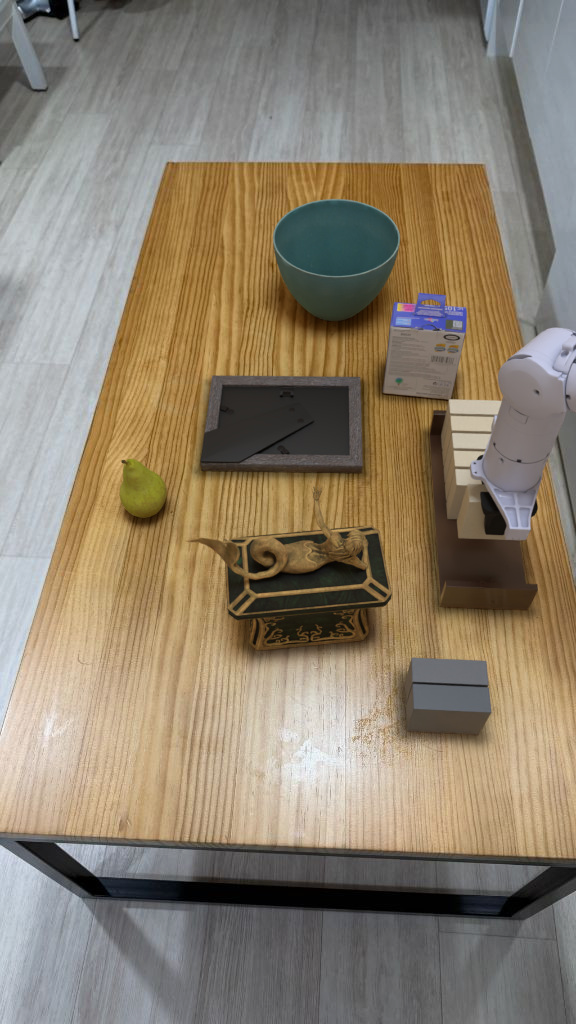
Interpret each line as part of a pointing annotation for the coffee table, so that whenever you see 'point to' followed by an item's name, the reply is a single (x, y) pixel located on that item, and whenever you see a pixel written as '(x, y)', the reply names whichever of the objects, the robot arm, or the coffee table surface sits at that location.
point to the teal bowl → (335, 255)
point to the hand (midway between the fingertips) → (493, 520)
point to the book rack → (472, 552)
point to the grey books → (447, 696)
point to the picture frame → (283, 424)
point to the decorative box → (304, 583)
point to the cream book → (473, 515)
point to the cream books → (464, 445)
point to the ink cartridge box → (424, 348)
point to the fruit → (141, 489)
